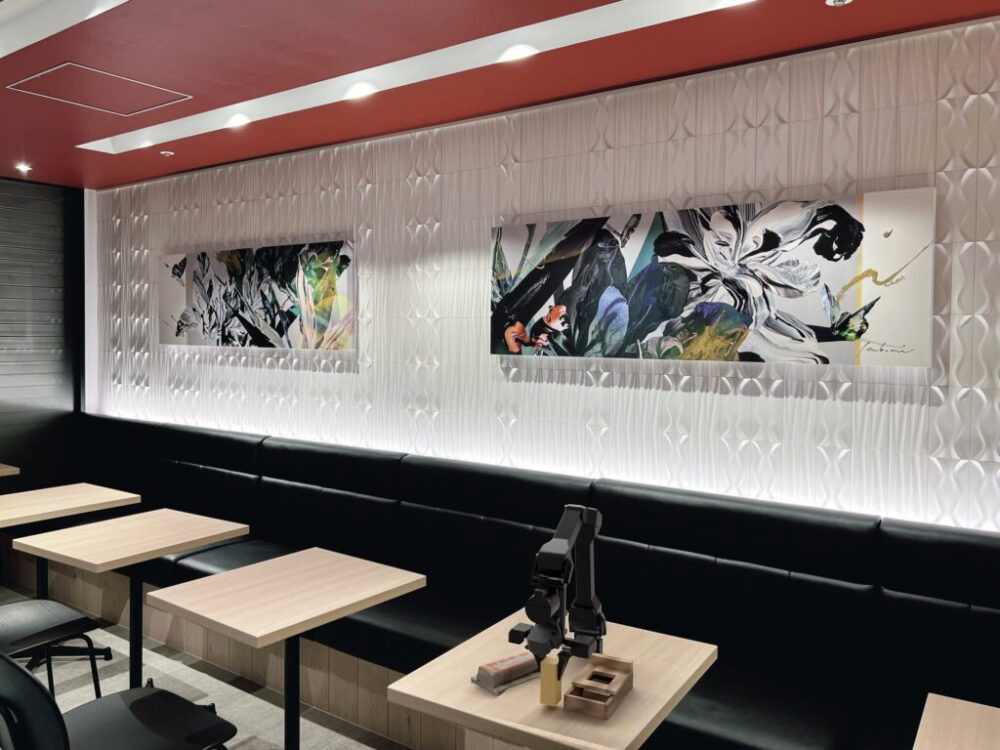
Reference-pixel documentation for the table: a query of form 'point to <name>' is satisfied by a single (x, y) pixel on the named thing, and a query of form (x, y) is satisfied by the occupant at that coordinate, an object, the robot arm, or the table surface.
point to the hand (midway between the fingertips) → (551, 678)
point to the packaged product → (507, 672)
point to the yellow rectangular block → (550, 682)
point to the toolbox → (595, 698)
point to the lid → (605, 673)
